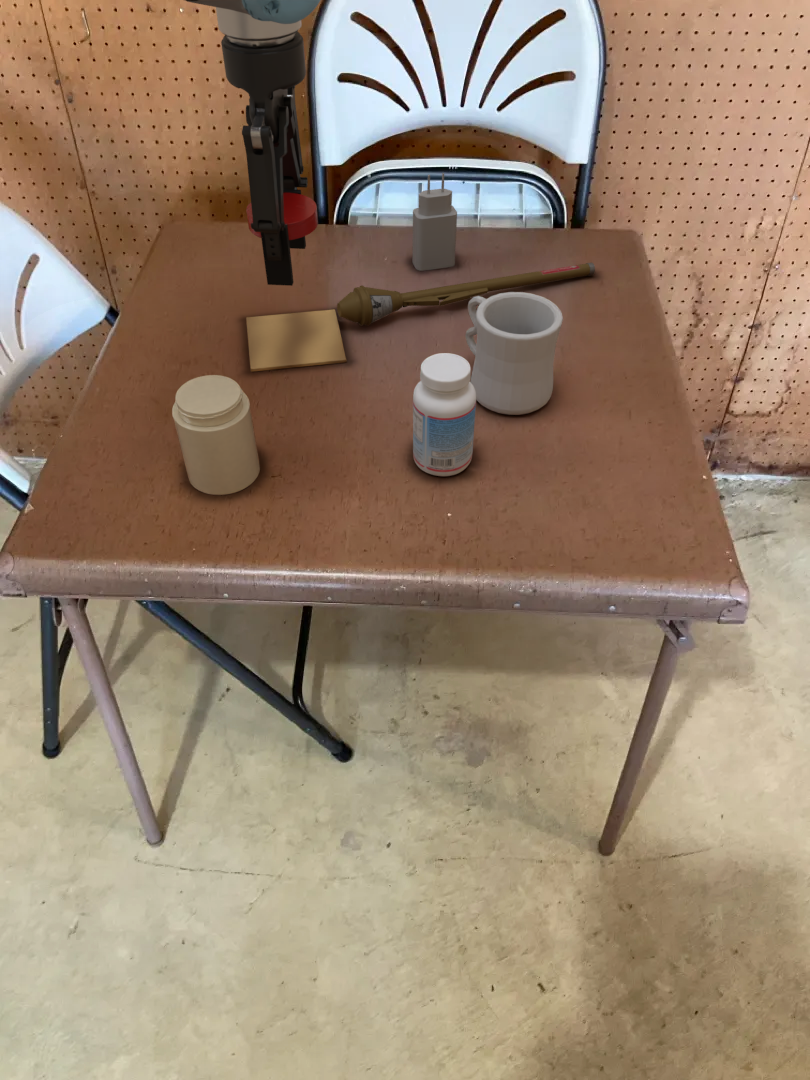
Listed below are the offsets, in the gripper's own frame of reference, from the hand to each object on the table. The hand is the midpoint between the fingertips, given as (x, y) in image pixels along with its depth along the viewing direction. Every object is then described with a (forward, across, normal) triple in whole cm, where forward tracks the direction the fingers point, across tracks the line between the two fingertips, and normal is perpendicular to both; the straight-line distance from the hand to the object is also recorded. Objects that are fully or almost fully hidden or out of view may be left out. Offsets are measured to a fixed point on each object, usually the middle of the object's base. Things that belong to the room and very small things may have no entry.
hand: (287, 264), depth 93 cm
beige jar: (+10, -24, +3) cm, 26 cm away
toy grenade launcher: (+10, +11, -21) cm, 25 cm away
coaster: (+10, 0, 0) cm, 10 cm away
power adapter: (+10, +20, -15) cm, 27 cm away
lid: (-6, 0, 0) cm, 6 cm away
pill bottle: (+10, -20, -19) cm, 29 cm away
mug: (+10, -7, -24) cm, 27 cm away
